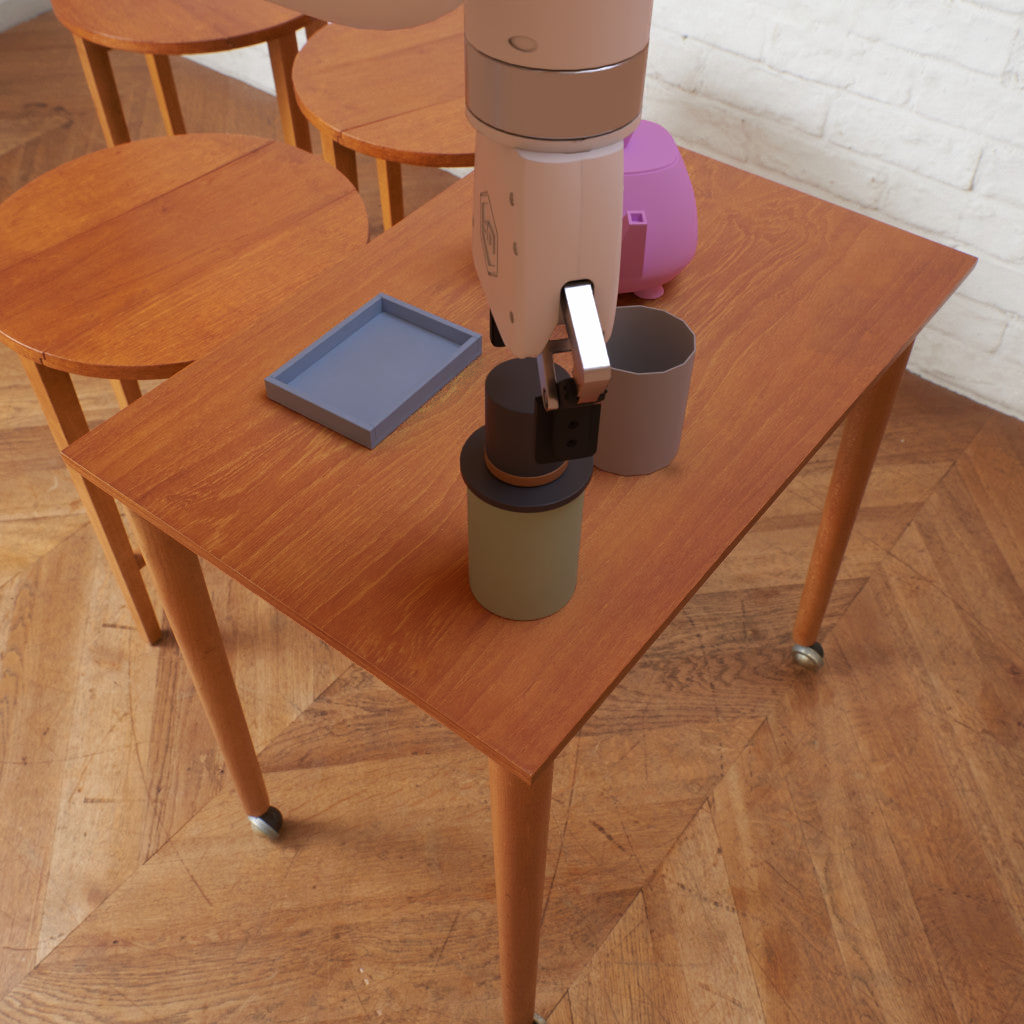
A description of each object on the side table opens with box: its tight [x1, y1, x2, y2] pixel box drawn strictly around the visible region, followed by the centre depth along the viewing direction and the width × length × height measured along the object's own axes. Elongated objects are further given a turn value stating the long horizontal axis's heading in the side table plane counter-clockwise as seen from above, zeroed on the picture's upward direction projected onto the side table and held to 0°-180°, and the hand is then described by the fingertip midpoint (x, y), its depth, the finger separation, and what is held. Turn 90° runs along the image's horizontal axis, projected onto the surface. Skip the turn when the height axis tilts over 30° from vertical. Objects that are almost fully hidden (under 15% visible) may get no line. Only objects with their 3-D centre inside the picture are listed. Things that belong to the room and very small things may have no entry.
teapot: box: [618, 118, 699, 300], centre depth 94 cm, size 20×20×15 cm
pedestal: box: [466, 486, 586, 621], centre depth 70 cm, size 8×8×11 cm
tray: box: [263, 292, 483, 450], centre depth 89 cm, size 15×11×2 cm
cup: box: [593, 304, 697, 477], centre depth 81 cm, size 8×8×10 cm
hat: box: [459, 356, 595, 513], centre depth 64 cm, size 8×8×7 cm
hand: (539, 395), depth 56 cm, fingers open, 9 cm apart
